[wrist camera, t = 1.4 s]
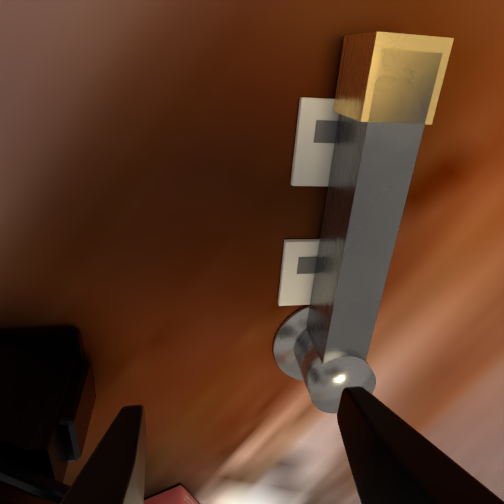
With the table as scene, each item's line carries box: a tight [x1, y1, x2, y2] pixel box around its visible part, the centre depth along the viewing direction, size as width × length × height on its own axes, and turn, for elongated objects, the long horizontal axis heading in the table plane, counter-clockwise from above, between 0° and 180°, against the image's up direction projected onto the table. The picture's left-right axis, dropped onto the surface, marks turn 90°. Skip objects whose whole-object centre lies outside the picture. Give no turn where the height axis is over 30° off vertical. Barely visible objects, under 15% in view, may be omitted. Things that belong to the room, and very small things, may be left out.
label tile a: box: [278, 239, 320, 306], centre depth 22 cm, size 6×4×1 cm, turn 86°
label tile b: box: [291, 97, 339, 186], centre depth 19 cm, size 6×4×1 cm, turn 86°
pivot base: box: [273, 305, 310, 381], centre depth 24 cm, size 6×6×1 cm
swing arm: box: [294, 32, 454, 413], centre depth 19 cm, size 18×4×4 cm, turn 176°
